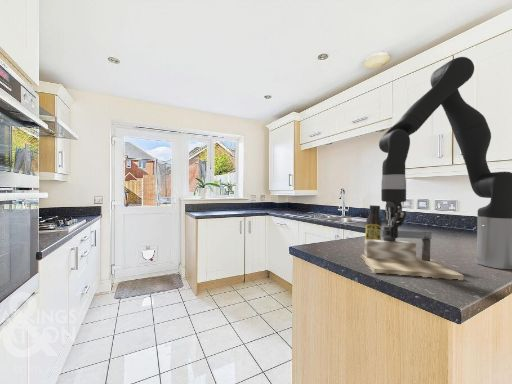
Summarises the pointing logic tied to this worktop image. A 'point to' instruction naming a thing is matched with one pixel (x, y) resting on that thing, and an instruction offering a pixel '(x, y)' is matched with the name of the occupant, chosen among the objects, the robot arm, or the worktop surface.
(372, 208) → the sauce bottle
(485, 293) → the worktop surface
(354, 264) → the worktop surface
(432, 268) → the door frame board
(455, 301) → the worktop surface
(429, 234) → the latch bar
